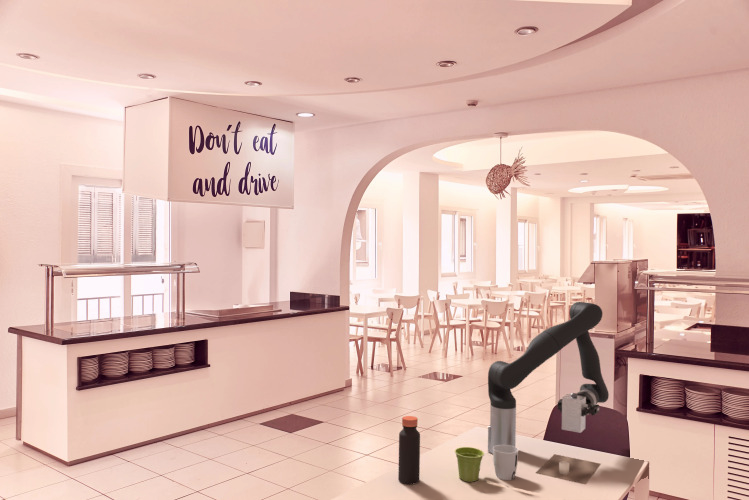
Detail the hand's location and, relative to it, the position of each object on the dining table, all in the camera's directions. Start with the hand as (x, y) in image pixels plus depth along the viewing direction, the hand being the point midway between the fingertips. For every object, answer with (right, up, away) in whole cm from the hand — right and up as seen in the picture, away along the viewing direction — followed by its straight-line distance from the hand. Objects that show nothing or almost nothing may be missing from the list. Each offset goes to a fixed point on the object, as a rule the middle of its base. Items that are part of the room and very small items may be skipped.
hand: (572, 411), depth 196 cm
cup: (-26, -19, -11) cm, 34 cm away
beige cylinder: (-6, -18, -8) cm, 21 cm away
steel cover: (+1, -7, +2) cm, 7 cm away
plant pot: (-37, -19, -11) cm, 43 cm away
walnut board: (-2, -19, -3) cm, 20 cm away
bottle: (-57, -18, -14) cm, 61 cm away
